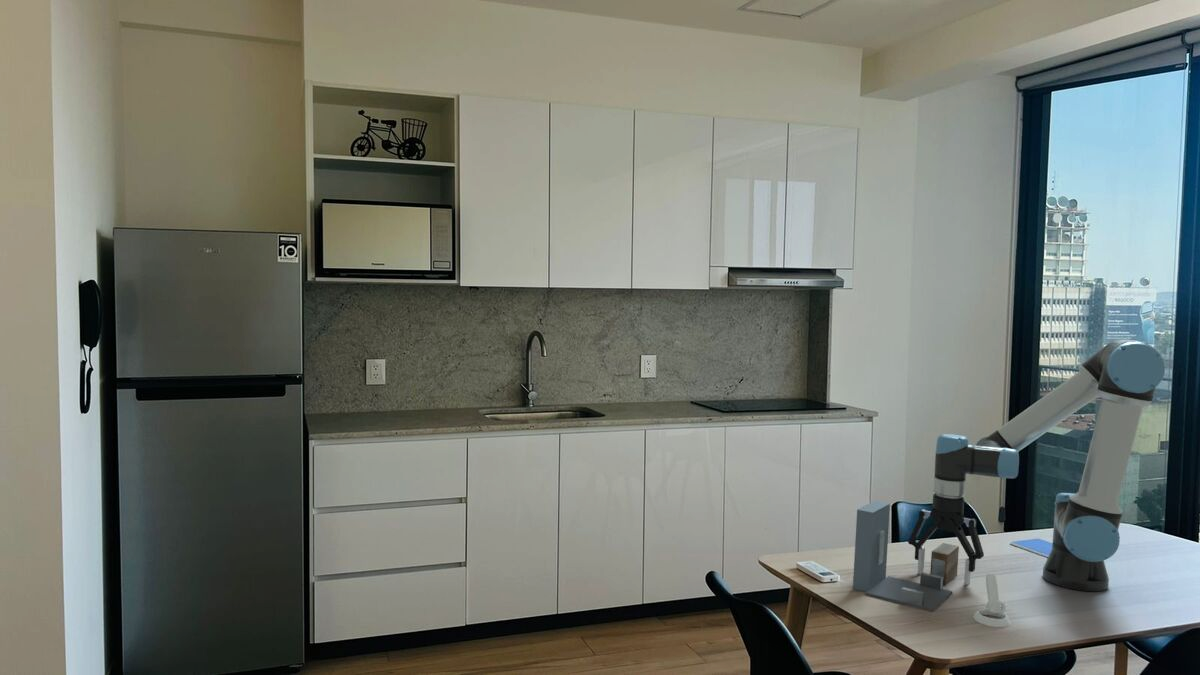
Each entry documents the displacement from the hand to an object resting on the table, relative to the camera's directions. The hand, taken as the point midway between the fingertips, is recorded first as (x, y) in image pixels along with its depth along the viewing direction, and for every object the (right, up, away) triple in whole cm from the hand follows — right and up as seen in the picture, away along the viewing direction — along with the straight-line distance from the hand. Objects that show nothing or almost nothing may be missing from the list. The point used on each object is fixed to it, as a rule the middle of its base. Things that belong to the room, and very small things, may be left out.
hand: (943, 577), depth 229 cm
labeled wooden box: (0, 0, 0) cm, 0 cm away
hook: (0, -2, -28) cm, 28 cm away
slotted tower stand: (-15, 0, -11) cm, 19 cm away
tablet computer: (+42, -1, +27) cm, 50 cm away
